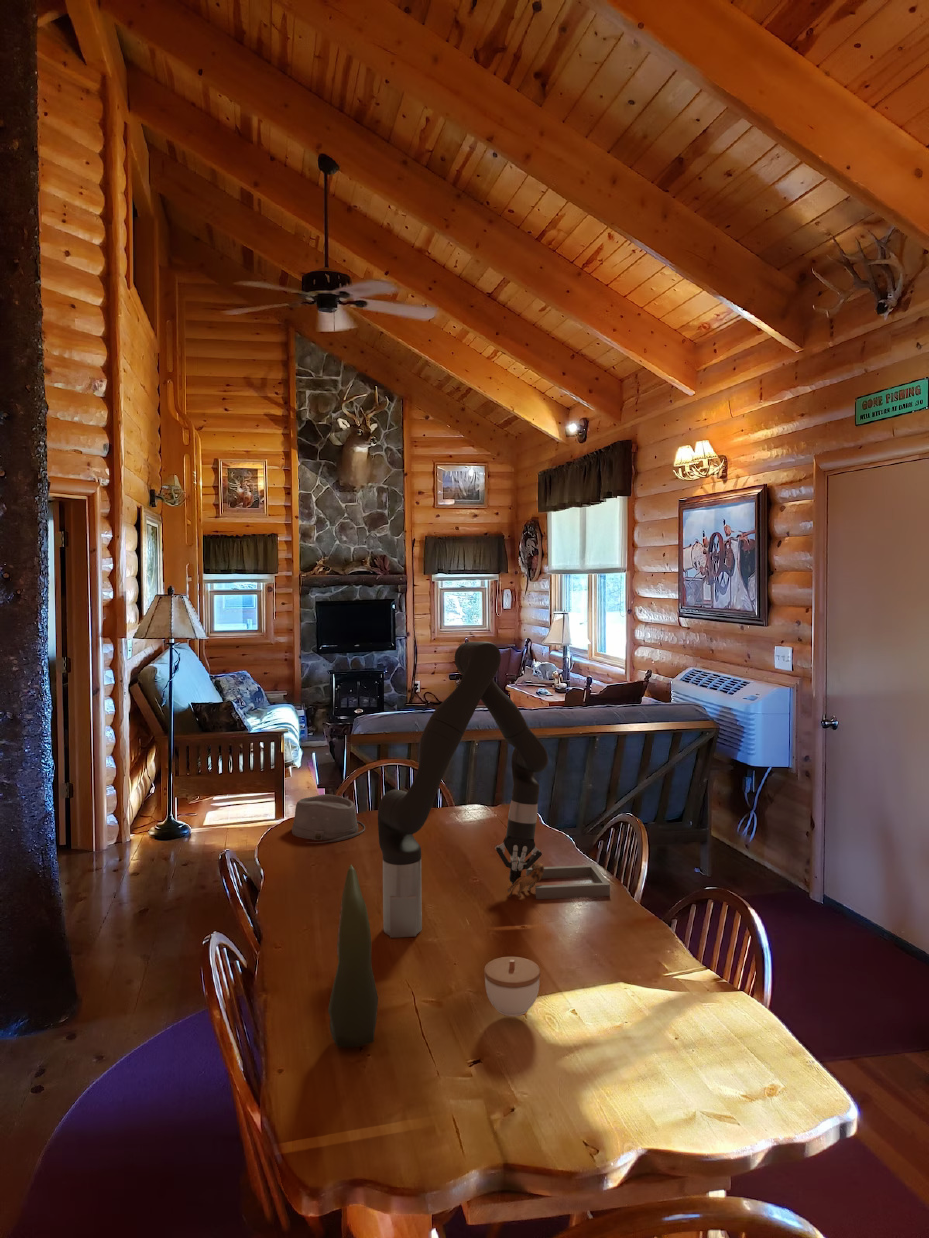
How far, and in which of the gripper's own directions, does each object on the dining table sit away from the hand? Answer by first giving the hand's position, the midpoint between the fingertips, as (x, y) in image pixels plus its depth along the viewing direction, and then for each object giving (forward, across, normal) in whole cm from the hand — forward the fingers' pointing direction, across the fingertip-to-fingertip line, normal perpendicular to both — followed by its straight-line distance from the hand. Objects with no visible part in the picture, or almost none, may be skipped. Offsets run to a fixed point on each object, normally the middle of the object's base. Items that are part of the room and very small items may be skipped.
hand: (514, 883), depth 214 cm
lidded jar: (+7, -9, -58) cm, 59 cm away
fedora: (+7, -54, +56) cm, 78 cm away
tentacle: (+11, -39, -65) cm, 77 cm away
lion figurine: (+1, +2, -1) cm, 2 cm away
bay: (0, +14, +2) cm, 14 cm away
